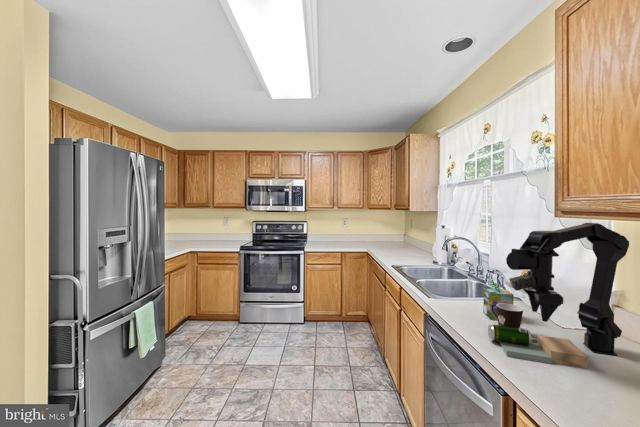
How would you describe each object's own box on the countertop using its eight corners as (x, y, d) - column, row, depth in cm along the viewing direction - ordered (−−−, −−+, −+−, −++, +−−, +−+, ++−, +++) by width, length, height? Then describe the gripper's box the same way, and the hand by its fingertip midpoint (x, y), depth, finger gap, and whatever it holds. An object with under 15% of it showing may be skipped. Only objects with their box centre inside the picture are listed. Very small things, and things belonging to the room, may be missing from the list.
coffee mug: (526, 339, 106) (527, 312, 105) (500, 336, 107) (501, 310, 107) (512, 326, 117) (513, 301, 117) (489, 324, 119) (489, 300, 118)
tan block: (568, 349, 98) (569, 339, 98) (587, 368, 87) (587, 356, 87) (536, 344, 101) (537, 335, 101) (550, 362, 90) (551, 350, 90)
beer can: (527, 326, 102) (488, 321, 106) (532, 333, 97) (491, 328, 101) (526, 341, 102) (487, 335, 106) (531, 349, 97) (490, 342, 101)
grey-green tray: (535, 343, 102) (536, 338, 102) (551, 363, 89) (552, 357, 89) (496, 337, 106) (496, 332, 106) (506, 356, 93) (506, 350, 93)
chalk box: (513, 322, 122) (514, 287, 121) (489, 319, 124) (490, 285, 123) (504, 314, 131) (505, 281, 130) (482, 312, 133) (483, 280, 132)
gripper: (505, 262, 107) (504, 304, 107) (520, 273, 89) (519, 323, 90) (541, 265, 103) (540, 308, 104) (565, 276, 86) (563, 329, 86)
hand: (539, 316), depth 96 cm, fingers open, 9 cm apart
